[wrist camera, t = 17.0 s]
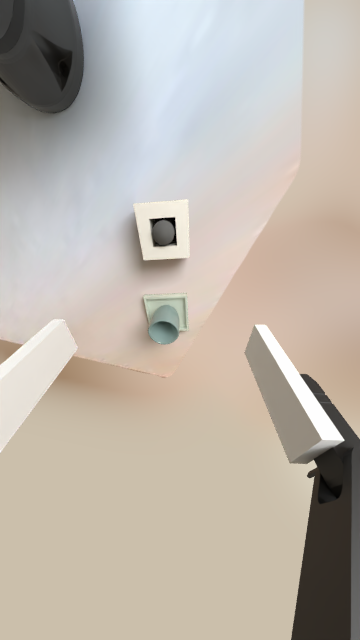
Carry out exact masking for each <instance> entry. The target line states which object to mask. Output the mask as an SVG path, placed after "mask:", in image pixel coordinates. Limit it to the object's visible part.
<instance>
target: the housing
mask: <svg viewBox="0 0 360 640" xmlns="http://www.w3.org/2000/svg"><path fill="white" fill-rule="evenodd" d="M133 205H134V211H135V216H136V222H137V227H138V232H139V238H140V243H141V249H142V254H143V260H159V259H176V258H190V252H189V215H188V199H187V200H174V201H162V202H149V203H137V204H133ZM168 217H175V221H176V236H177V241H172V242H170V243H169V244H167V245H160V244H158V243H157V242H156V241H155V240H154V238H153V234H152V231H153V227H154V225H155V221H154V219H155V218H168Z"/></svg>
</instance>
